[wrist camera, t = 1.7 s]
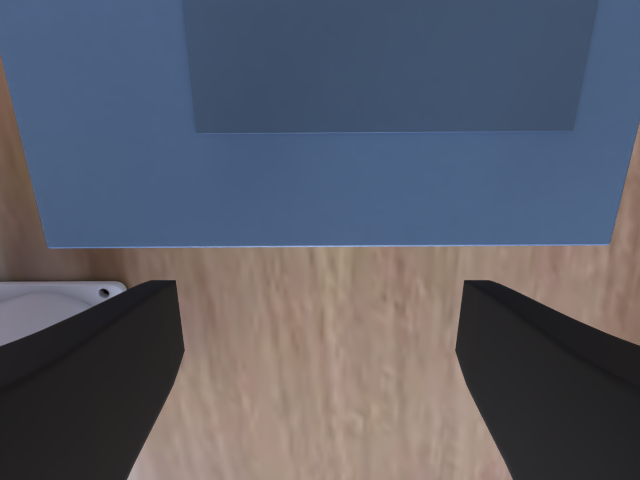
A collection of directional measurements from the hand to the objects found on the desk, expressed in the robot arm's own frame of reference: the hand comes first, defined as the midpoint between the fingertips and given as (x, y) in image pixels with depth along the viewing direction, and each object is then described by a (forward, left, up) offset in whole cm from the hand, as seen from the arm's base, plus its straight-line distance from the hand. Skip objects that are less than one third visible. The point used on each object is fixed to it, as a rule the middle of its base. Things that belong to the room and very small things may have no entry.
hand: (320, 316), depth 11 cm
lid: (0, +7, -4) cm, 8 cm away
